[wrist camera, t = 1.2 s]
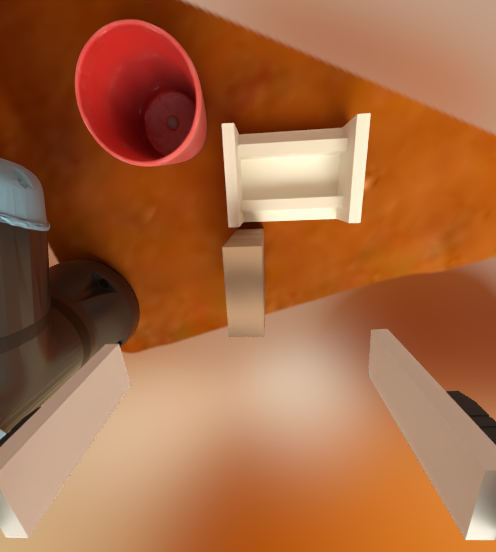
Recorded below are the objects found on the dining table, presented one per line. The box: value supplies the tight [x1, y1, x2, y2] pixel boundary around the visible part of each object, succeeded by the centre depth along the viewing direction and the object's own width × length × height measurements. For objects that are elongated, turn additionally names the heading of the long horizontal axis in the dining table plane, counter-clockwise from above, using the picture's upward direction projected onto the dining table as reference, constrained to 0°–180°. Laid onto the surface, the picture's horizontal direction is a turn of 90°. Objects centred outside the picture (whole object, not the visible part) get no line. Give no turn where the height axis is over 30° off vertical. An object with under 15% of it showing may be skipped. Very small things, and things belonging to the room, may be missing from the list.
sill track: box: [222, 113, 371, 227], centre depth 28 cm, size 14×10×6 cm
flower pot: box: [75, 19, 207, 166], centre depth 25 cm, size 11×11×10 cm
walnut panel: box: [222, 228, 265, 337], centre depth 29 cm, size 9×4×12 cm, turn 2°
